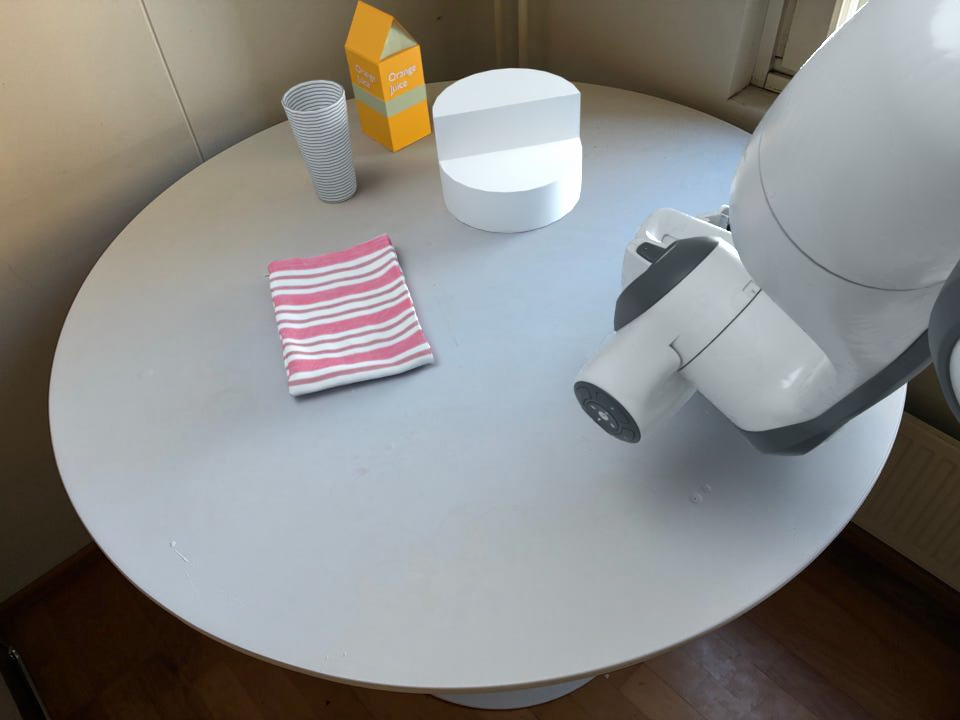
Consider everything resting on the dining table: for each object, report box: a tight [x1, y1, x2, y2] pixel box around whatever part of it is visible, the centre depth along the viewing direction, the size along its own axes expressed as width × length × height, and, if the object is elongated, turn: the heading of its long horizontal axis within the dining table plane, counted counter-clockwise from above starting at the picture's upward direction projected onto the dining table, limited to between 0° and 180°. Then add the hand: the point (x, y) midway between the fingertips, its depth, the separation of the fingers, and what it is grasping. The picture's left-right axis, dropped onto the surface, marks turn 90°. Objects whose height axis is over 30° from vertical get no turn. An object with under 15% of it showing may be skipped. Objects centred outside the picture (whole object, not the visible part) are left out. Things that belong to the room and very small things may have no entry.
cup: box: [281, 78, 358, 204], centre depth 108 cm, size 8×8×16 cm
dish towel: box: [267, 232, 434, 397], centre depth 94 cm, size 17×23×4 cm
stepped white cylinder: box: [432, 67, 583, 234], centre depth 106 cm, size 20×20×13 cm
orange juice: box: [344, 0, 432, 153], centre depth 116 cm, size 8×9×20 cm
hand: (772, 228), depth 76 cm, fingers open, 8 cm apart
